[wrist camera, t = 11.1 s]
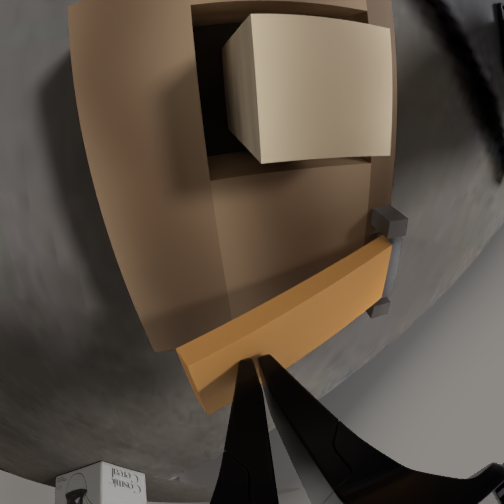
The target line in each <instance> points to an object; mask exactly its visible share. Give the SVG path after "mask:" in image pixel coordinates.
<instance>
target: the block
mask: <svg viewBox="0 0 504 504" xmlns="http://www.w3.org/2000/svg"><path fill="white" fill-rule="evenodd" d="M250 14H291V15H306V16H317V17H326V18H334V19H342V20H348V21H354V22H360V23H366V24H371V25H376V26H380V27H385V28H389V29H390V36H391V53H392V131H391V149H390V156H360V157H338V158H322V159H308V160H295V161H284V162H274V163H264V164H261V163H260V162H259V161H258V160H257V159H256V158H255V156H254V155H253V154H252V153H251V152H250V151H241V152H234V153H226V154H219V155H213V156H207V153H206V145H205V137H204V129H203V121H202V113H201V104H200V96H199V87H198V78H197V68H196V59H195V49H194V39H193V28H192V27H198V26H207V25H217V24H230V23H243V22H244V21H245V20H246V19H247V17H248V16H249V15H250ZM68 24H69V42H70V54H71V64H72V73H73V82H74V89H75V96H76V103H77V109H78V115H79V120H80V126H81V131H82V136H83V141H84V146H85V150H86V155H87V159H88V164H89V168H90V172H91V176H92V180H93V184H94V188H95V191H96V195H97V199H98V202H99V206H100V209H101V213H102V216H103V219H104V223H105V226H106V229H107V232H108V235H109V238H110V241H111V244H112V247H113V250H114V253H115V256H116V259H117V262H118V265H119V268H120V270H121V273H122V276H123V278H124V281H125V284H126V286H127V289H128V291H129V294H130V296H131V299H132V301H133V304H134V306H135V309H136V311H137V314H138V316H139V318H140V321H141V323H142V325H143V328H144V330H145V332H146V334H147V337H148V339H149V341H150V343H151V345H152V348H153V350H154V352H155V353H157V352H164V351H171V350H176V348H178V347H180V346H182V345H184V344H186V343H188V342H190V341H192V340H194V339H196V338H198V337H200V336H202V335H204V334H206V333H208V332H210V331H212V330H214V329H216V328H218V327H220V326H222V325H224V324H226V323H228V322H230V321H232V320H233V319H235V318H237V317H239V316H241V315H243V314H245V313H247V312H249V311H251V310H252V309H254V308H256V307H258V306H260V305H262V304H264V303H265V302H267V301H269V300H271V299H273V298H275V297H276V296H278V295H280V294H282V293H284V292H285V291H287V290H289V289H291V288H293V287H294V286H296V285H298V284H300V283H302V282H303V281H305V280H307V279H309V278H310V277H312V276H314V275H316V274H317V273H319V272H321V271H323V270H324V269H326V268H328V267H330V266H331V265H333V264H335V263H336V262H338V261H340V260H341V259H343V258H345V257H347V256H348V255H350V254H352V253H353V252H355V251H357V250H358V249H360V248H362V247H363V246H365V245H367V244H368V243H370V242H372V241H373V240H375V239H376V238H377V236H378V234H379V233H381V234H382V235H384V236H385V237H386V238H387V239H389V238H394V237H399V236H405V234H406V229H407V223H408V218H407V217H405V216H404V215H403V214H401V213H400V212H399V211H397V210H396V209H394V208H393V207H392V206H390V204H391V196H392V186H393V176H394V164H395V149H396V129H397V67H396V48H395V34H394V23H393V14H392V5H391V0H83V1H81V2H78V3H75V4H72V5H70V6H68ZM389 305H390V301H389V300H388V298H387V297H384V298H380V299H379V300H378V301H377V302H376V303H374V304H373V305H372V306H371V307H369V308H368V309H367V310H366V312H367V313H368V315H369V316H370V318H374V317H378V316H381V315H384V314H387V312H388V309H389Z"/></svg>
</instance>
